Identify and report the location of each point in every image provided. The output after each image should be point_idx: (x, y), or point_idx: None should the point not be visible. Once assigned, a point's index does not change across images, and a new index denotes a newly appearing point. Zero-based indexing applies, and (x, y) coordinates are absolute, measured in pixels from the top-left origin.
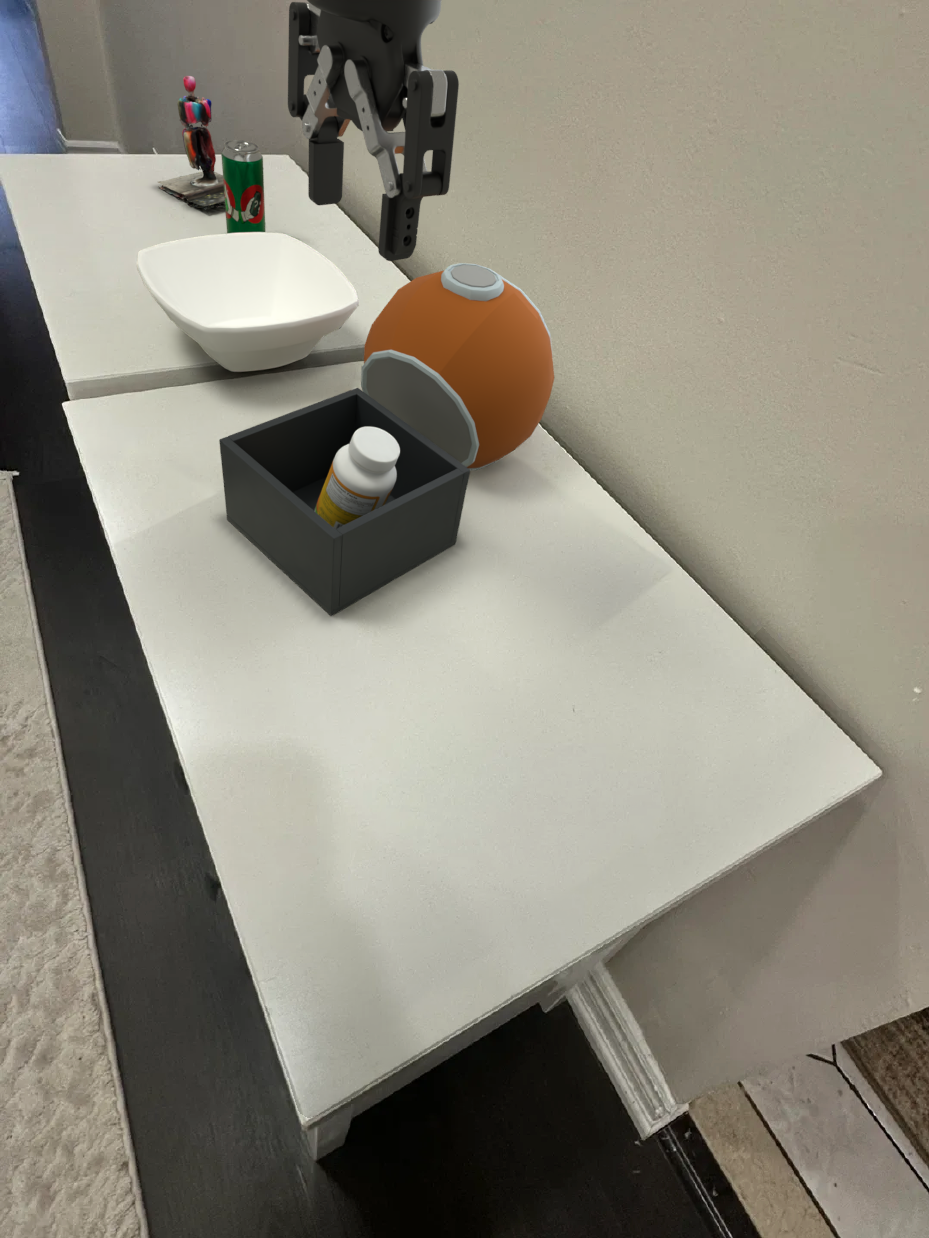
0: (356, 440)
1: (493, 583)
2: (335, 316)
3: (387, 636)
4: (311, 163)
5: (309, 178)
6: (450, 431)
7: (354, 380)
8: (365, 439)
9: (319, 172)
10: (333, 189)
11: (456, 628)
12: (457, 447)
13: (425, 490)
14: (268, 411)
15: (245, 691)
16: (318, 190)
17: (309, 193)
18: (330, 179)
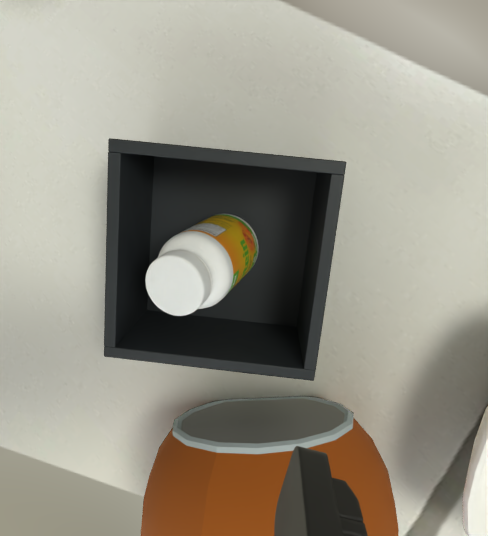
0: (187, 266)
1: (78, 299)
2: (465, 486)
3: (93, 168)
4: (321, 525)
5: (330, 490)
6: (212, 420)
7: (416, 447)
8: (184, 278)
9: (297, 519)
10: (282, 519)
11: (59, 226)
12: (206, 414)
13: (108, 287)
14: (442, 330)
15: (127, 12)
16: (295, 478)
17: (321, 458)
18: (286, 534)
